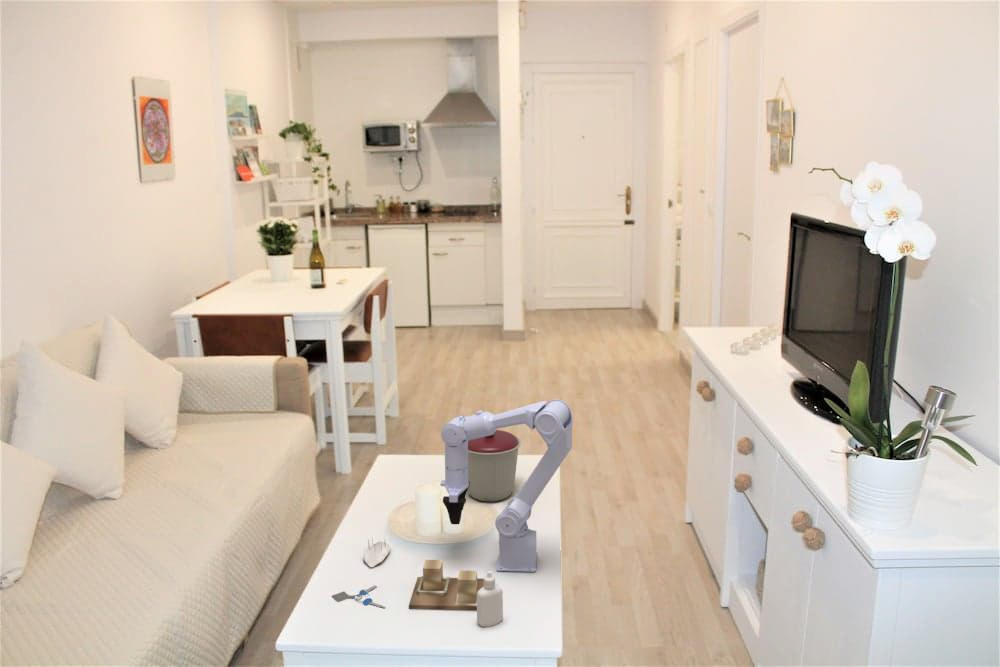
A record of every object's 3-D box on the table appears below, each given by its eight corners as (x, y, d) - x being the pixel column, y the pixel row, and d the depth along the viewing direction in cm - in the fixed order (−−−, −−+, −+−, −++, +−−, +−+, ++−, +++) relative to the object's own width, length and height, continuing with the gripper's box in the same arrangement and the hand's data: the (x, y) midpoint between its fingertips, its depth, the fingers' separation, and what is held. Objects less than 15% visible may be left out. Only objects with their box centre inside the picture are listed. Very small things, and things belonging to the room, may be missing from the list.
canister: (466, 511, 235) (464, 440, 230) (454, 485, 252) (452, 419, 247) (528, 503, 239) (527, 434, 234) (512, 479, 256) (511, 414, 251)
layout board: (484, 582, 197) (484, 555, 196) (480, 610, 186) (479, 582, 184) (417, 580, 199) (416, 554, 197) (409, 608, 187) (407, 580, 185)
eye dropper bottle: (477, 616, 184) (476, 566, 181) (502, 615, 184) (502, 566, 181) (476, 627, 180) (475, 577, 177) (502, 627, 180) (502, 577, 177)
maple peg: (443, 583, 195) (442, 560, 194) (440, 592, 192) (440, 568, 190) (426, 582, 196) (425, 559, 194) (423, 592, 192) (422, 568, 190)
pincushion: (383, 569, 204) (382, 548, 203) (359, 568, 205) (357, 547, 203) (394, 546, 216) (393, 526, 214) (371, 545, 216) (370, 525, 215)
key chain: (328, 601, 191) (327, 598, 191) (343, 583, 198) (343, 580, 198) (384, 610, 187) (384, 607, 187) (398, 591, 195) (398, 588, 195)
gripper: (444, 454, 212) (445, 503, 215) (436, 477, 198) (437, 529, 201) (471, 455, 212) (472, 504, 215) (465, 478, 198) (466, 530, 201)
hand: (457, 516), depth 208 cm, fingers open, 7 cm apart
